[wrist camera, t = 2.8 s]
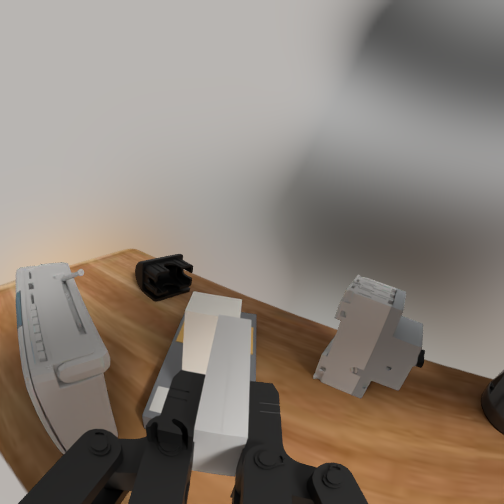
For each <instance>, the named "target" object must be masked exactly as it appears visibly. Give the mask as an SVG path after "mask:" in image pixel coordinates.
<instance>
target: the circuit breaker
mask: <svg viewBox="0 0 504 504" xmlns="http://www.w3.org/2000/svg"><path fill="white" fill-rule="evenodd" d="M405 297H406V292H405V291H402V290H400V289H397V288H394V287H391V286H388V285H386V284H383V283H380V282H377V281H374V280H372V279H369V278H366V277H364V278H363V277H361V276H359V275H357V277H356V278H355V279H354V281H353V282H352V283H351V284H350V286H349V287H348V288H347V289H346V291H345V294H344V296H343V298H342V300H341V301H340V304H339V306H338V310H337V312H336V316H335V318H336V319H338V320H341V322H340V325H339V327H338V330H337V333H336V335H335V336H334V338H333V339H332V341H331V342H330V344H329V345H328V346H327V348H326V349H325V351H324V352H323V354H322V355H321V358H320V360H319V363H318V365H317V368H316V372H315V374H314V376H313V379H316V378H317V379H320V380H321V381H320V382H322V383H325V384H327V385H329V386H332V387H334V388H336V389H339V390H341V391H344V392H346V393H348V394H352V395H353V396H356V397H358V398H362V397H363V395H364V393H365V391H366V389H367V387H368V386H369V384H370V382H371V381H374V382H376V383H379V384H382V385H384V386H387V387H390V388H392V389H395V390H399V389H400V388H401V386H402V384H403V382H404V381H405V379H406V377H407V376H408V374H409V372H410V370H411V368H412V367H413V366H417V367H420V368H421V367H422V366H423V364H424V354H425V350H422V337H423V335H422V334H423V324H422V323H420V322H417V321H414V320H412V319H409V318H406V317H403V316H402V313H403V308H404V303H405ZM354 388H355V389H354ZM353 390H354V391H353ZM352 392H353V393H352Z"/></svg>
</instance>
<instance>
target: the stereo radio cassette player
mask: <svg viewBox="0 0 504 504" xmlns="http://www.w3.org/2000/svg"><path fill="white" fill-rule="evenodd" d="M83 274H84V271H83V270H82V269H79V270H78V271H77V272H75V273H71V271H70V268H69V265H68V263H62V262H61V263H50V264H41V265H39V266H30V267H21V268H19V269H17V272H16V313H17V329H18V340H19V349H20V357H21V364H22V371H23V375H24V380H25V384H26V388H27V391H28V393H29V396H30V398H31V400H32V403H33V405H34V407H35V410H36V412H37V414H38V416H39V418H40V420H41V422H42V424H43V426H44V427H45V429H46V431H47V433H48V434H49V436H50V437H51V439H52V441H53V442H54V444H55V445H56V446H57V448H58V449H59V450H60V451H61V452H62V453H63V454H65V453H66V452H67V451H68V450H69V448H70V447H71V446H72V445H73V444H74V443H75V442H76V441H77V440H78V439H79V438H80V437H81V436H82V434H84V433H85V432H87V431H88V430H92V429H105V430H107V431H110V432H112V433H113V434H114V435H115V436H116V437H117V438H118V432H117V428H116V425H115V421H114V417H113V413H112V410H111V406H110V401H109V397H108V393H107V388H106V383H105V379H104V372H106V370H107V369H108V368H109V367H110V356H109V353H108V351H107V349H106V347H105V345H104V343H103V341H102V339H101V337H100V335H99V333H98V331H97V329H96V327H95V325H94V323H93V321H92V319H91V317H90V315H89V313H88V311H87V308H86V306H85V304H84V302H83V300H82V297H81V295H80V293H79V290H78V288H77V285H76V283H75V281H74V278H75V277H76V276H78V275H79V276H82V275H83Z"/></svg>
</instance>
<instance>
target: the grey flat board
mask: <svg viewBox="0 0 504 504" xmlns="http://www.w3.org/2000/svg"><path fill="white" fill-rule="evenodd" d="M240 318H243V319H250V320H251V353H250V381H255V382H256V314H250V313H244V312H241V315H240ZM184 321H185V313H184V315H183V318H182V320H181V322H180V325H179V327H178V329H177V332H176V334H175V336H174V339H173V341H172V343H171V346H170V348H169V351H168V353H167V355H166V358H165V360H164V363H163V365H162V367H161V370H160V372H159V375H158V377H157V380H156V382H155V385H154V387H153V390H152V392H151V395H150V397H149V400H148V402H147V405H146V407H145V410H144V412H143V415H142V417H143V424H144V428H145V429H146V425H147V423H148V422H149V420H151V419H152V418H154V417H155V416H159V415H161V412H162V408H163V405H164V402H165V399H166V397H167V394H168V391H169V388H170V385H171V382H172V379H173V377H174V376H175V375H176V374H177V373H178V372H179V371H180V370H182V358H183V338H184Z"/></svg>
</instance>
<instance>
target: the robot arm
mask: <svg viewBox="0 0 504 504" xmlns="http://www.w3.org/2000/svg"><path fill="white" fill-rule="evenodd" d="M250 353H251V320H250V319H243V318H237V317H231V316H226V315H220V314H219V316H218V321H217V325H216V330H215V334H214V339H213V343H212V348H211V352H210V357H209V361H208V366H207V371H206V375H205V374H200V373H195V372H190V371H185V370H180V371H179V372H178V373H177V374H176V375H175V376H174V377H173V379H172V382H171V385H170V388H169V391H168V394H167V397H166V399H165V402H164V405H163V408H162V412H161V415H159V416H155V417H154V418H152V419H151V420H149V422H148V423H147V425H146V433H147V436H146V437H144V438H140V439H118V438H117V437H116V436H115V435H114V434H113V433H112V432H110V431H107V430H105V429H92V430H88V431H87V432H85V433H84V434H82V436H81V437H80V438H79V439H78V440H77V441H76V442H75V443H74V444H73V445H72V446H71V447H70V448H69V450H68V451H67V452H66V453H65V454H64V455H63V456H62V457H61V458H60V459H59V460H58V461H57V462H56V464H55V465H54V466H53V467H52V468H51V469H50V470H49V471H48V472H47V473H46V474H45V475H44V476H43V477H42V479H41V480H40V481H39V482H38V483H37V484H36V485H35V486H34V487H33V488H32V489H31V490H30V491H29V493H28V494H27V495H26V496H25V497H24V498H23V499H22V500H21V501H20V502H19V503H18V504H121V502H122V501H123V499H124V498H125V496H126V495H127V494H128V492H129V491H132V493H131V496H130V499H129V503H128V504H187V498H188V492H189V486H190V477H191V471H192V470H194V471H200V472H206V473H212V474H219V475H227V476H235V474H236V478H235V486H234V488H233V491H232V493H231V496H230V497H232V504H368V502H367V500H366V499H365V497H364V495H363V493H362V491H361V490H360V488H359V486H358V484H357V482H356V480H355V479H354V477H353V475H352V473H351V472H350V471H349V470H348V468H346V467H345V466H343V465H341V464H337V463H325V464H323V465H320V466H319V467H318V468H316V467H313V466H309V465H305V464H302V463H299V462H297V461H295V460H293V459H292V458H290V457H289V456H288V455H287V454H286V452H285V450H284V448H283V442H282V429H281V416H280V406H279V404H280V403H279V393H278V391H277V390H276V388H275V387H274V385H273V384H272V383H263V382H255V381H250ZM481 402H482V407H483V410H484V412H485V414H486V416H487V418H488V419H489V421H490V422H491V423H492V424H493V425H494V426H495V427H496V428H497V429H498V430H499V431H501V432H502V433H504V370H503V371H502V372H501V373H500V374H499V375H498V376H497V377H496V378H495V379H493V380H492V381H491V382H490V383H489V385H488V386H487V388H486V389H485V391H484V392H483V394H482V398H481Z"/></svg>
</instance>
